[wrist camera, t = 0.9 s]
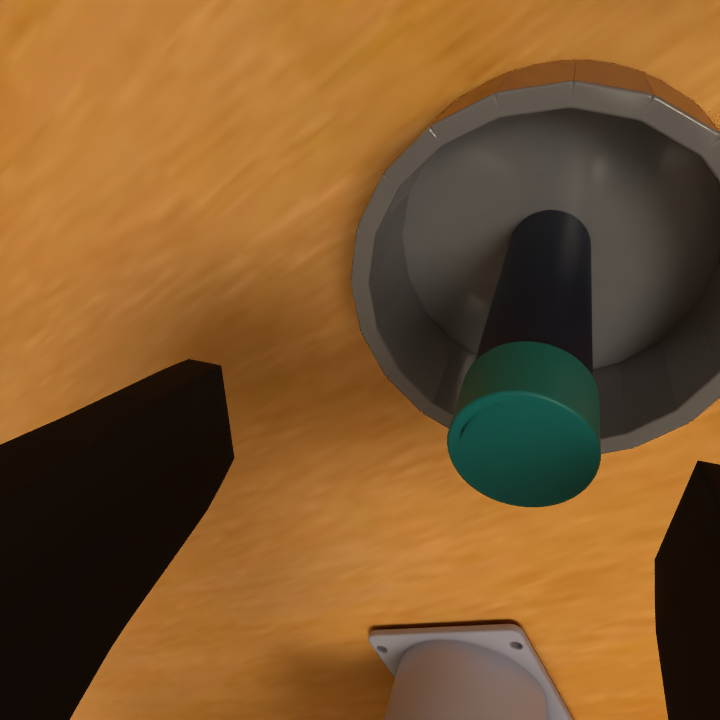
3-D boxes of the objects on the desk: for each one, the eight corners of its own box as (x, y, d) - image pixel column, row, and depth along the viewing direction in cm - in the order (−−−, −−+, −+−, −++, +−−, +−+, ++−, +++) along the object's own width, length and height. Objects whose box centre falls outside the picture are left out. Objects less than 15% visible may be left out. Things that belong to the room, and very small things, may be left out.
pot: (776, 329, 16) (822, 415, 13) (465, 405, 21) (443, 482, 18) (685, -23, 13) (717, -21, 10) (339, 158, 18) (285, 199, 15)
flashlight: (607, 269, 17) (621, 497, 9) (523, 297, 18) (480, 517, 11) (577, 191, 16) (570, 375, 9) (492, 225, 17) (422, 411, 10)
